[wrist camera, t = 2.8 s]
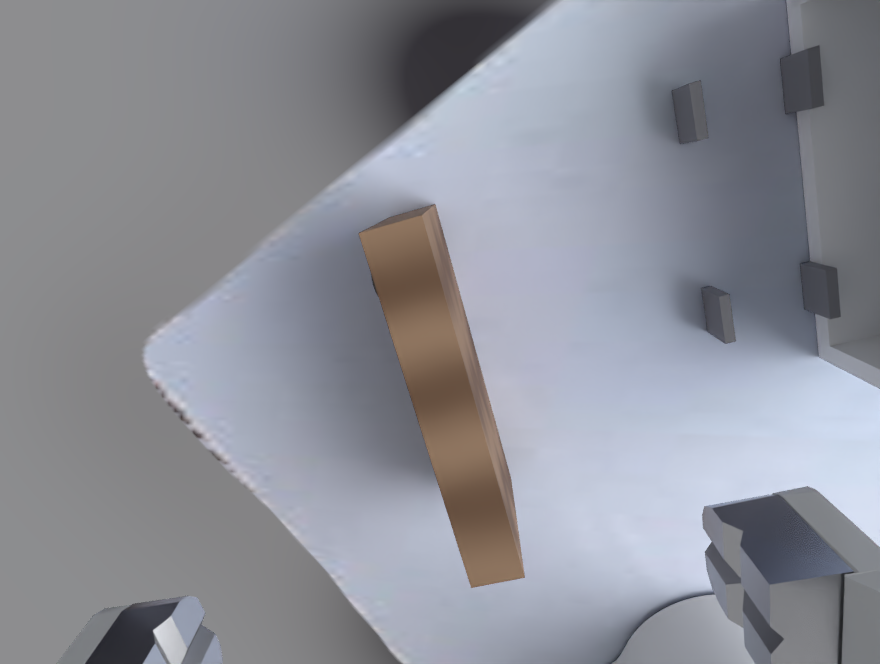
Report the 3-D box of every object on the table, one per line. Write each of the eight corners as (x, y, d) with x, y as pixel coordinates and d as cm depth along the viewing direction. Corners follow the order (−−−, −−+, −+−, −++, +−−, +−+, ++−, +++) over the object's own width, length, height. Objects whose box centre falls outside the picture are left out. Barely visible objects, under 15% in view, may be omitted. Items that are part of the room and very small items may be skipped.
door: (510, 477, 38) (524, 577, 29) (460, 488, 39) (457, 590, 29) (435, 204, 33) (421, 215, 24) (378, 220, 34) (342, 237, 24)
